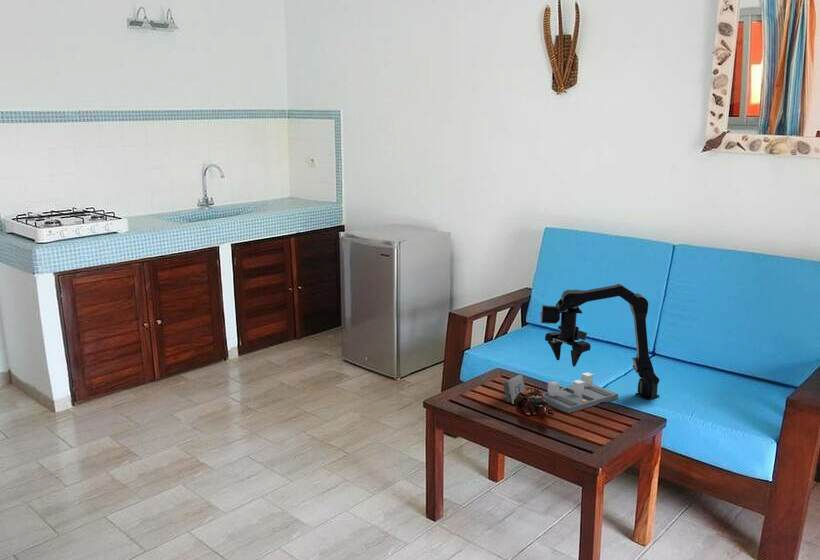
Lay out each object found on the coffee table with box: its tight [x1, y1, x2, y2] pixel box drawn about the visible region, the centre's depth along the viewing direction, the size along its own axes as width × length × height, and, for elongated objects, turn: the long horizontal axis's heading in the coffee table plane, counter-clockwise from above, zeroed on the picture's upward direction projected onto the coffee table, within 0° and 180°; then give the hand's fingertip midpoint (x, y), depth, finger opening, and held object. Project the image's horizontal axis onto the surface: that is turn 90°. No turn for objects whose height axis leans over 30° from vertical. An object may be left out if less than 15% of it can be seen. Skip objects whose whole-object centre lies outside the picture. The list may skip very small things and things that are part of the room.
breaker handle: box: [572, 379, 585, 398], centre depth 269 cm, size 3×3×6 cm
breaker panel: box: [541, 371, 619, 414], centre depth 269 cm, size 16×26×7 cm, turn 123°
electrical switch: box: [502, 374, 526, 405], centre depth 267 cm, size 9×5×9 cm, turn 141°
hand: (566, 363), depth 273 cm, fingers open, 8 cm apart
